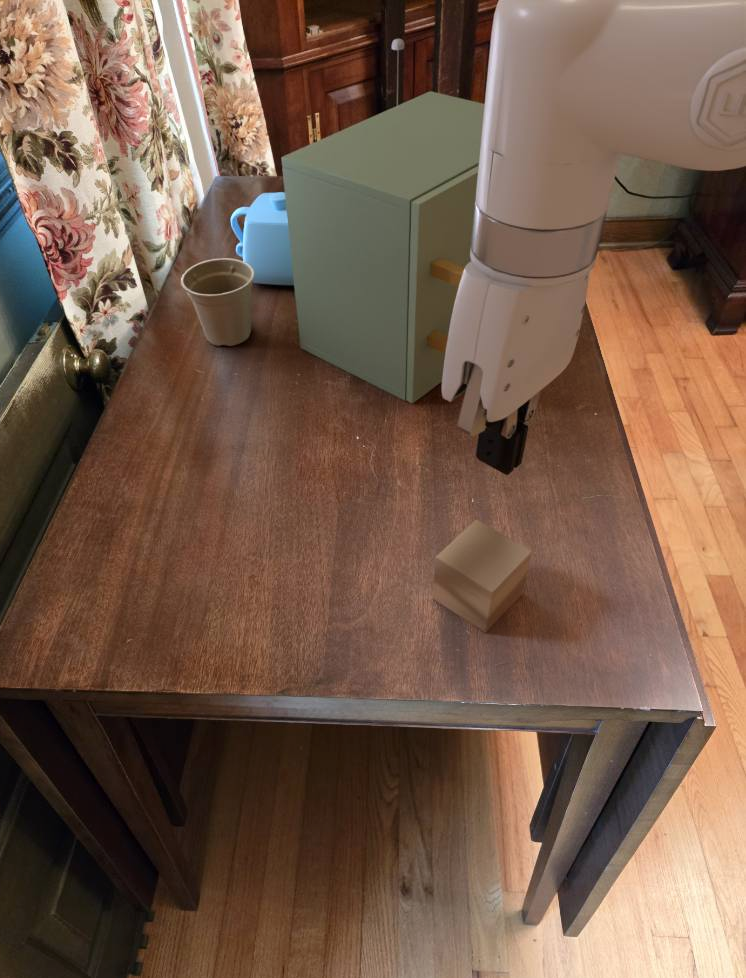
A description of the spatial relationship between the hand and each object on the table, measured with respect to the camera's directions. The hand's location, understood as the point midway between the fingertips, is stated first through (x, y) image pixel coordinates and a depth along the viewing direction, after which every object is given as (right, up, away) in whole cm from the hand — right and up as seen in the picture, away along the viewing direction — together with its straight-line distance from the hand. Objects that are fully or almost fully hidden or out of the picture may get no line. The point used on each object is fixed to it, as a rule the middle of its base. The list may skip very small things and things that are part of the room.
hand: (498, 461), depth 57 cm
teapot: (-19, +34, +53) cm, 66 cm away
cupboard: (-2, +22, +41) cm, 47 cm away
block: (0, -11, +11) cm, 16 cm away
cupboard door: (+7, +16, +35) cm, 39 cm away
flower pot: (-28, +22, +43) cm, 55 cm away
